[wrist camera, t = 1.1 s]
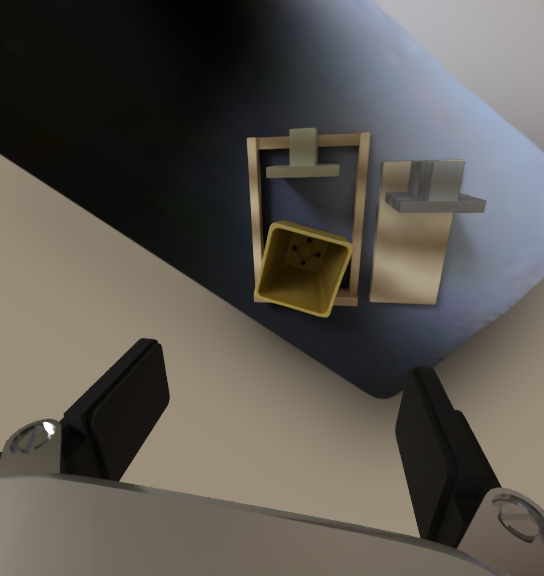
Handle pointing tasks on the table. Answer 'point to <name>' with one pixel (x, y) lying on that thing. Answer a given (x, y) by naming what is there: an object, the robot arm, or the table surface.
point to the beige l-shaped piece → (415, 228)
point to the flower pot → (302, 268)
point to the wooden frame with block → (306, 165)
